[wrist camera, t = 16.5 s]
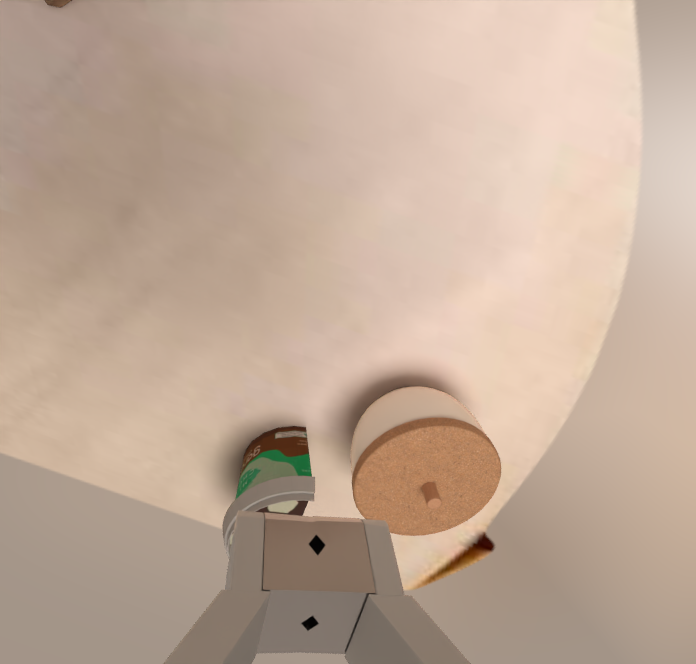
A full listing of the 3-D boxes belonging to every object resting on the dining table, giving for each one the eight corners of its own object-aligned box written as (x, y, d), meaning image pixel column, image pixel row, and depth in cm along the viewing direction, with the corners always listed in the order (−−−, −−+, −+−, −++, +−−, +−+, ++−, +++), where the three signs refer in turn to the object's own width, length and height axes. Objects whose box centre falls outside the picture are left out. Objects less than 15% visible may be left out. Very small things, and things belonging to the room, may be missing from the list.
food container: (246, 403, 46) (238, 484, 38) (310, 415, 48) (316, 495, 39) (219, 496, 52) (206, 585, 43) (277, 504, 53) (275, 592, 44)
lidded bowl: (413, 479, 54) (442, 571, 44) (316, 434, 49) (324, 527, 39) (492, 398, 49) (543, 481, 40) (394, 340, 45) (424, 418, 35)
